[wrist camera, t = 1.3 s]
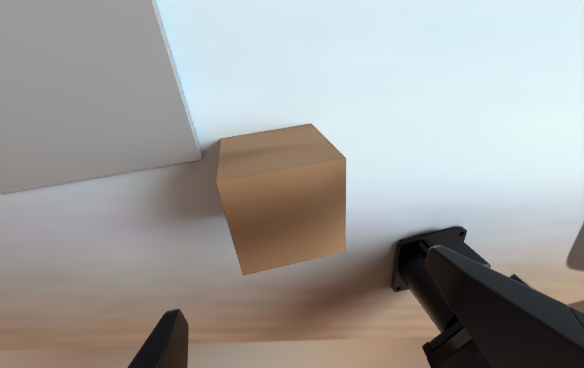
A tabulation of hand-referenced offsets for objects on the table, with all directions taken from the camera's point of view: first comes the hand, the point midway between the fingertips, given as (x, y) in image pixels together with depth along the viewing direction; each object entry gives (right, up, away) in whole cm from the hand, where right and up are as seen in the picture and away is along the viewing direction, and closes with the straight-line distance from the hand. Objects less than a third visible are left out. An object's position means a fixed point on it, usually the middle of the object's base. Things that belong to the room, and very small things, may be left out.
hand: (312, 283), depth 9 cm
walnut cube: (-2, +4, +8) cm, 9 cm away
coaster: (-11, +9, +3) cm, 15 cm away
